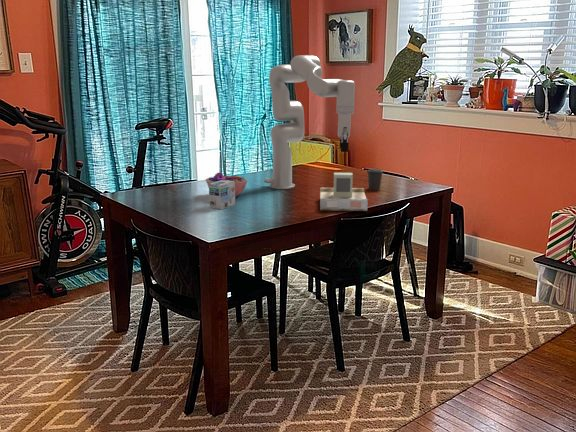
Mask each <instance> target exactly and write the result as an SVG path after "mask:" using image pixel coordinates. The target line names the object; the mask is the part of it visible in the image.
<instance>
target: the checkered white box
mask: <svg viewBox="0 0 576 432" xmlns="http://www.w3.org/2000/svg"><path fill="white" fill-rule="evenodd" d="M319 190H320V191H319V200H320V201H319V209H320V211H339V212H341V211H342V212H345V211H346V212H347V211H348V212H349V211H350V212H353V211H356V212H368V202H369V201H368V200H369V199H368V198H367V196H366V194H365V188H364V187H352V197H334V195H333V192H334V187H320V189H319Z"/></svg>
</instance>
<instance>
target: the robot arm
mask: <svg viewBox="0 0 576 432" xmlns="http://www.w3.org/2000/svg"><path fill="white" fill-rule="evenodd" d="M321 66H322V65H321V60H320V59H319V58H318V57H317V56H316V55H313V54H311V55H310V54H303V55H301V54H300V55H295V56H294V57H293V58H291V60H290V64H278V65H275V66H273V67H272V68H271V70H270V72H269V75H268V80H269V86H270V90H271V103H272V104H271V105H272V106H271V107H272V115H273V118H274V120H275V121H279V122H287V121H290V122H289V123H279V124H275V125H273V126H272V128H271V129H270V138H271V144H272V177H270V178H264V180H263V181H264V183H265V184H266V183H267V184H269V187H270V188H272V189H274V190H291V189H294V188H295V187H296V184H295V183H293V152H292V148H291V146H290V145H289V144H291V143H297V142H299V143H300V142H301V141H302V140H304V137H305V134H306V133H305V132H306V131H305V130H306V129H305V112H304V106H303V104H302V103H301V102H300V101H297V100H291V99H290V91H289V88H288V86H287V85H286V84H287V83H290V84H291V83H294V84H295V83H303V82H305V81H306V84H307V88H308V89H309V91H311V92H312V93H313V94H315V95H317V96H318V97H320V98H335V97H336V110H335V111H336V112H335V113H336V114H337V115H338V116H337V117H338V118H337V119H338V120H337V121H338V122H337V137H338V138H340V139H339V148H340V152H341V153H349V138H350V135H351V127H352V125H351V124H352V123H351V122H352V115H354V114H355V97H356V96H355V94H356V92H355V91H356V83H355V81H354V80H351V79H349V80H348V79H341V78H326V79H324V78H322V77H323V69H322V67H321Z"/></svg>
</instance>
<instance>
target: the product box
mask: <svg viewBox="0 0 576 432" xmlns="http://www.w3.org/2000/svg"><path fill="white" fill-rule="evenodd" d="M353 175H354V174H353V172H333V188H334V192H333V195H334V197H352V188H353V182H354V181H353V180H354V179H353V178H354V176H353Z"/></svg>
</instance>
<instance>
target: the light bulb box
mask: <svg viewBox="0 0 576 432" xmlns="http://www.w3.org/2000/svg"><path fill="white" fill-rule="evenodd" d="M208 195H209V196H208V197H209V198H208V199H209V202H208V203H209V208H211V209H212V208H213V209H217V210H218V209H219V210H223V209H226V208H229V207H232V206H235V205H236V196H235V181H229V180H220V181H217V182H213V183H209V188H208Z"/></svg>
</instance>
